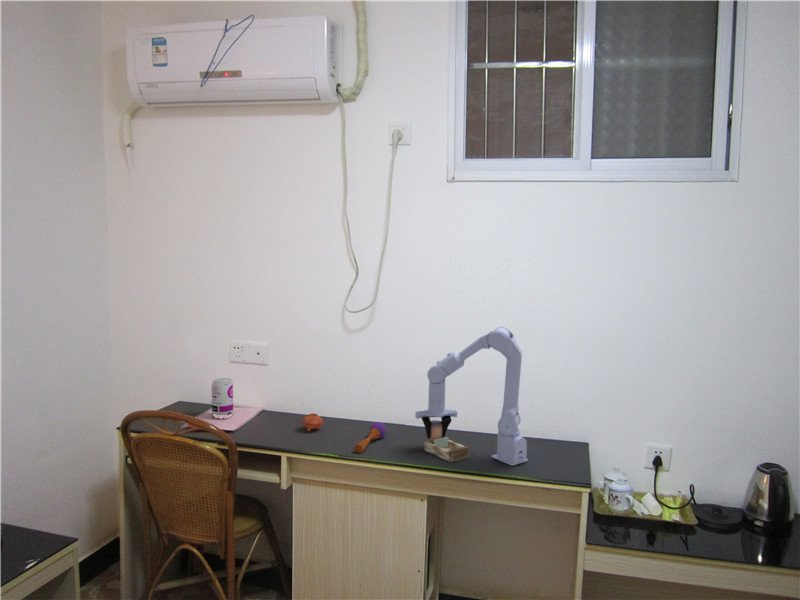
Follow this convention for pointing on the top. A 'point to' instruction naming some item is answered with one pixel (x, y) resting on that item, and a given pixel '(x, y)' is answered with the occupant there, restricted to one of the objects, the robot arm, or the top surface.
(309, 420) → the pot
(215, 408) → the supplement can
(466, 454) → the tray
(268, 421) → the top surface
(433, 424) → the jar
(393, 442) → the top surface
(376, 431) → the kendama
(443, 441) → the pusher
